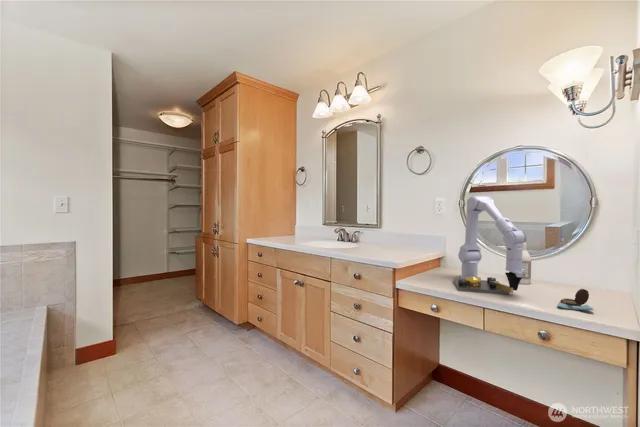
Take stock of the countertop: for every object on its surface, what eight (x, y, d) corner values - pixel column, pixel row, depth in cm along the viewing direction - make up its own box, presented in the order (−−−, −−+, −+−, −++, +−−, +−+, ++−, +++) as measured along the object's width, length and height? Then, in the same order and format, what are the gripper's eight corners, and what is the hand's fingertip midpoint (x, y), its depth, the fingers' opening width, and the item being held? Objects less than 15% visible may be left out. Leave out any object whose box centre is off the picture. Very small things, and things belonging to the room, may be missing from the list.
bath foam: (533, 284, 141) (534, 243, 140) (517, 284, 142) (518, 243, 141) (526, 281, 148) (527, 242, 147) (511, 280, 149) (512, 241, 148)
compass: (567, 300, 118) (568, 283, 118) (589, 307, 110) (590, 288, 110) (552, 302, 116) (553, 284, 116) (574, 309, 108) (574, 290, 108)
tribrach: (453, 281, 148) (453, 271, 148) (497, 284, 142) (498, 274, 142) (458, 290, 132) (458, 280, 131) (509, 294, 126) (509, 283, 125)
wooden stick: (487, 285, 134) (487, 280, 134) (493, 284, 135) (494, 280, 135) (508, 293, 122) (508, 288, 122) (515, 292, 123) (515, 287, 123)
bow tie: (556, 306, 113) (557, 309, 109) (556, 301, 113) (557, 305, 109) (591, 309, 107) (594, 313, 103) (591, 304, 107) (594, 308, 103)
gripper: (531, 262, 116) (531, 295, 117) (518, 256, 130) (518, 286, 130) (511, 261, 118) (511, 294, 119) (501, 255, 132) (500, 284, 132)
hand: (513, 289), depth 125 cm, fingers closed
